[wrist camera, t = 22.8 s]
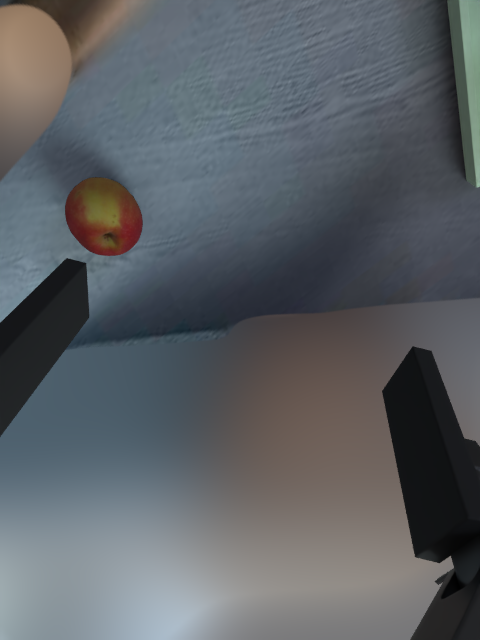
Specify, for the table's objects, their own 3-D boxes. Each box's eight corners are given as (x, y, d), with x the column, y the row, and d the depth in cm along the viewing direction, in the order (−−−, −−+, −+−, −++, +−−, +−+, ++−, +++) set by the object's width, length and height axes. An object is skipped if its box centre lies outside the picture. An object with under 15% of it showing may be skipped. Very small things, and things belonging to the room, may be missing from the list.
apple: (103, 242, 47) (71, 271, 41) (75, 175, 43) (35, 195, 36) (160, 234, 46) (137, 263, 39) (138, 163, 41) (108, 183, 35)
